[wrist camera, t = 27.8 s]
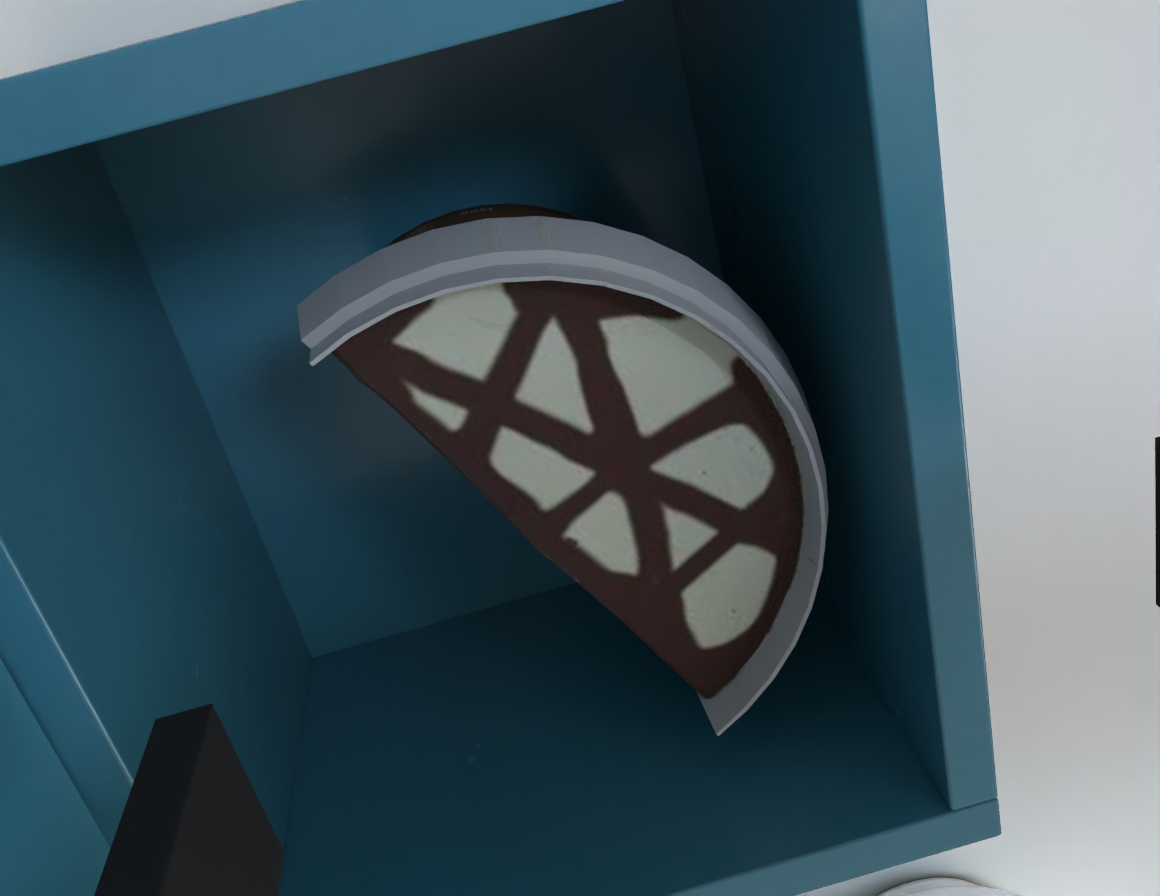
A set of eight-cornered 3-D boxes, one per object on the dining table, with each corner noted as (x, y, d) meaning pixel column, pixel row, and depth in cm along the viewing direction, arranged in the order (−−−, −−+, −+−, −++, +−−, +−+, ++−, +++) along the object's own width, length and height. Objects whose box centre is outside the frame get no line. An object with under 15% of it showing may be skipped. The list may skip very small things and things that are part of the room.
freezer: (685, -102, 26) (914, -161, 14) (794, 531, 33) (1002, 835, 22) (31, 70, 25) (-298, 158, 14) (295, 672, 33) (229, 1063, 21)
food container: (805, 388, 30) (972, 565, 21) (640, 526, 31) (733, 751, 22) (510, 39, 26) (565, 76, 17) (327, 215, 27) (284, 341, 18)
